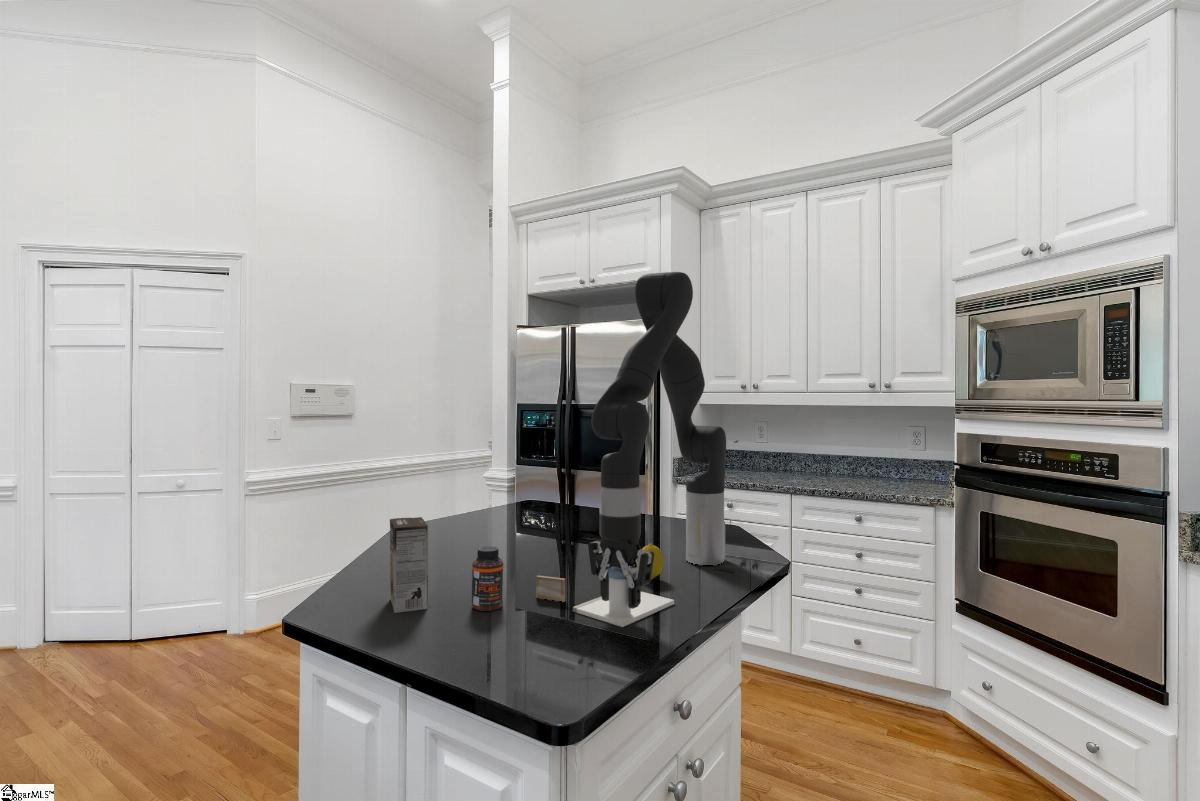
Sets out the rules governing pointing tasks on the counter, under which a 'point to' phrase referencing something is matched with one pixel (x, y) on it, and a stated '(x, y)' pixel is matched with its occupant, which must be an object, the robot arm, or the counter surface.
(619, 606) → the white blue capped bottle
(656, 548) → the lemon
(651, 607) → the paper pad
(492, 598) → the supplement bottle
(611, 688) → the counter surface
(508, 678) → the counter surface
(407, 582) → the coffee box
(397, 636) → the counter surface
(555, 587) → the word sign
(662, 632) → the counter surface
